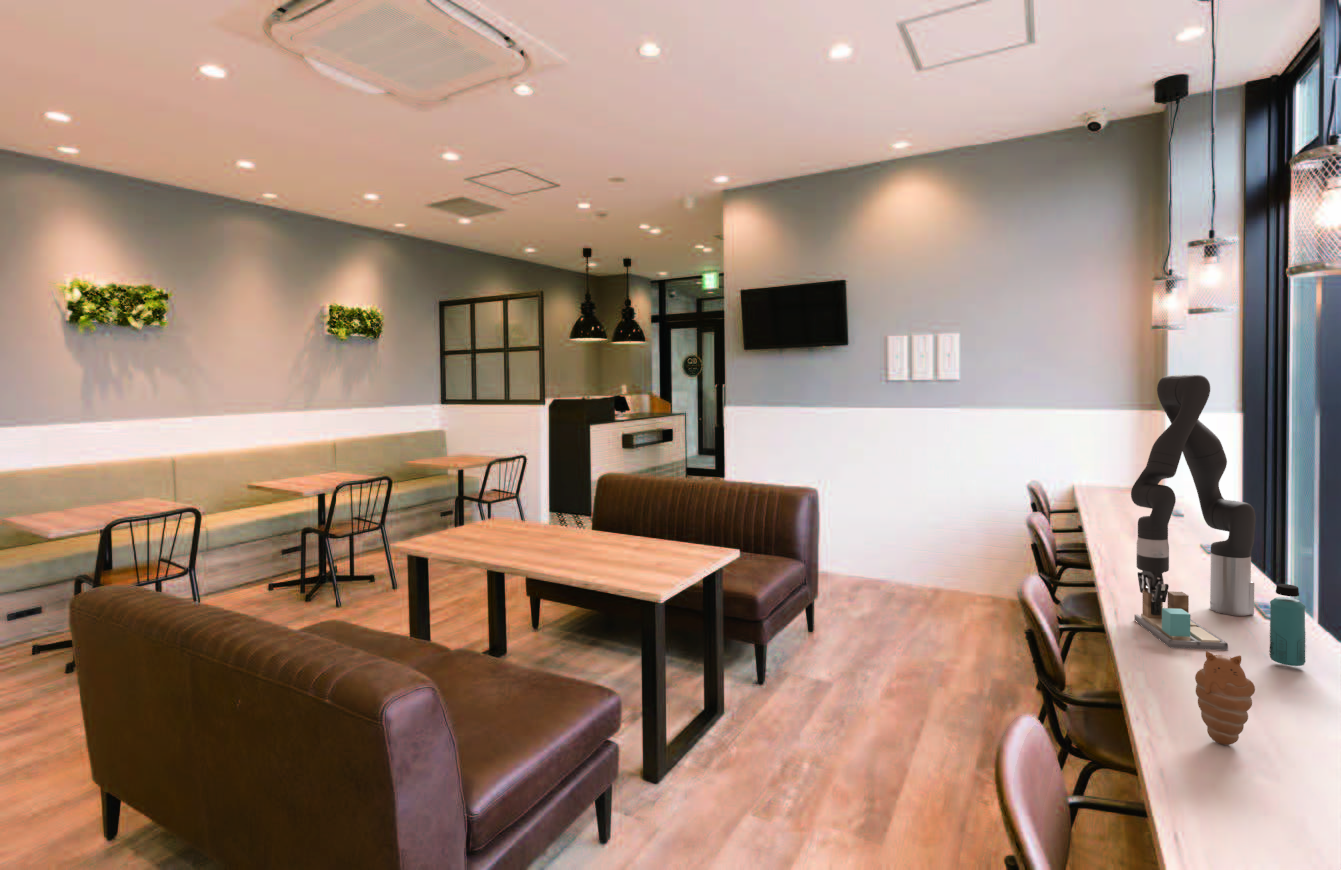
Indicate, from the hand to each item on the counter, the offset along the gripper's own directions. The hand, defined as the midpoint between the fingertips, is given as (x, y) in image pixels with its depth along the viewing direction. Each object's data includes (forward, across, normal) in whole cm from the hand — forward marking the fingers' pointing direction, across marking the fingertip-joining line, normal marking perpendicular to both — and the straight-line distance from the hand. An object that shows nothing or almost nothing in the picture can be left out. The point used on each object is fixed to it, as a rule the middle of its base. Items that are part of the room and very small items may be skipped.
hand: (1152, 612), depth 192 cm
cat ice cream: (+4, -69, +16) cm, 71 cm away
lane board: (+3, -8, -3) cm, 9 cm away
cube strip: (+2, -7, 0) cm, 8 cm away
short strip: (+2, -2, -6) cm, 7 cm away
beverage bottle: (+4, -28, -17) cm, 33 cm away
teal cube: (+1, -14, 0) cm, 14 cm away
